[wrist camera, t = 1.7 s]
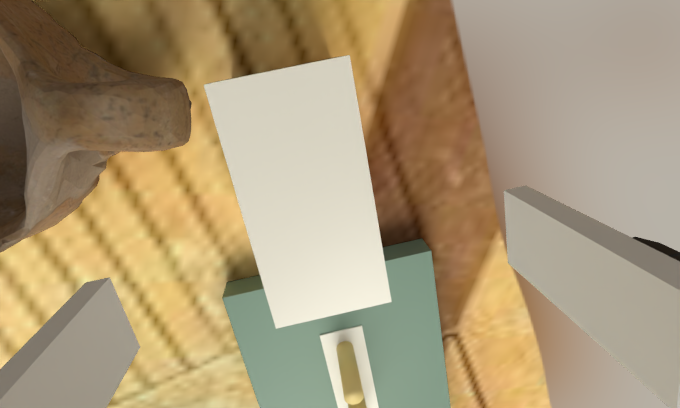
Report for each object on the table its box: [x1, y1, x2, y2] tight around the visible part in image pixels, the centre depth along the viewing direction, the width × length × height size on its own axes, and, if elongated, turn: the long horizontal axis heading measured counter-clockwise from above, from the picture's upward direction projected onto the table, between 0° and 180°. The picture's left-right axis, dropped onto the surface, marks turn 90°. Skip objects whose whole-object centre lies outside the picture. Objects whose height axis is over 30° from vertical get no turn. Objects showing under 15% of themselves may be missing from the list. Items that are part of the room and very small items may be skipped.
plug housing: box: [204, 55, 392, 329], centre depth 22 cm, size 12×6×8 cm, turn 11°
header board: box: [222, 239, 450, 408], centre depth 28 cm, size 16×14×6 cm
